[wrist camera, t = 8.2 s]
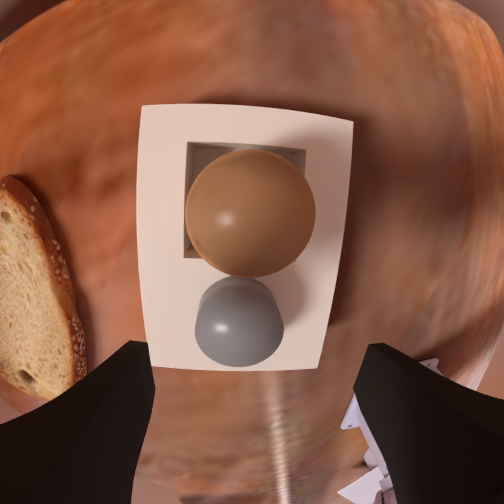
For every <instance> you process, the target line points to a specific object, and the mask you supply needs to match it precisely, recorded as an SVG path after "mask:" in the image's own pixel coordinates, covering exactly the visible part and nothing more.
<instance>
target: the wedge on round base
mask: <svg viewBox="0 0 504 504" xmlns="http://www.w3.org/2000/svg"><path fill="white" fill-rule="evenodd" d="M364 459H365V462H366V464H367V466H368V468H369V471H370V472H369V473H367V474H366V475H364V476H363V477H361V478H359V479H358V480H356V481H355V482H353V483H352V484H350V485H348V486H347V487H345V488H343V489H342V490H340V491H338V492H337V493H338V494H340V495H342V496H343V497H345V498H347V499H348V500H350V501H352V502H354V503H355V504H371V503H373V502H374V500H375V496H376V494H377V492H378V491H379V490H381V487H380V485H379V481H381V480H382V479H384V477H383V475H382V473H381V471H380V469H379V467H378V464H377V462H376V460H375V458H374V456H373V454H372V452H371V450H370V448H369V449H368V450H367V452H366V453H365V455H364Z"/></svg>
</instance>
